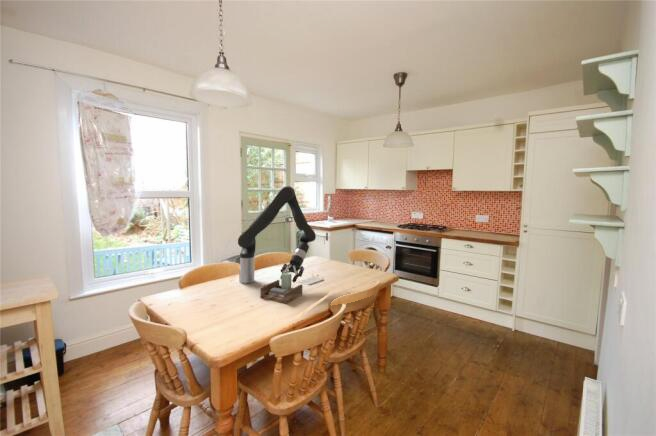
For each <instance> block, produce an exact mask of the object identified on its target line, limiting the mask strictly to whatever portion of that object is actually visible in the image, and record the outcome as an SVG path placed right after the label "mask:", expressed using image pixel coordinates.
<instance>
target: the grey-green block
mask: <svg viewBox="0 0 656 436" xmlns="http://www.w3.org/2000/svg"><path fill="white" fill-rule="evenodd" d="M280 277H281V278H280V280H281V281H280V283H281V285H280V286H281V289H285V290H287V291H289V290H291V288H292V273H283V274H282V273H281V275H280Z"/></svg>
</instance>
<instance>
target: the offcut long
mask: <svg viewBox="0 0 656 436" xmlns="http://www.w3.org/2000/svg"><path fill="white" fill-rule="evenodd" d="M268 295H270V296H274V297H278V298H283V299H284V296H283V295H278V294H272V293H270V292H269V293H268Z"/></svg>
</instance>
